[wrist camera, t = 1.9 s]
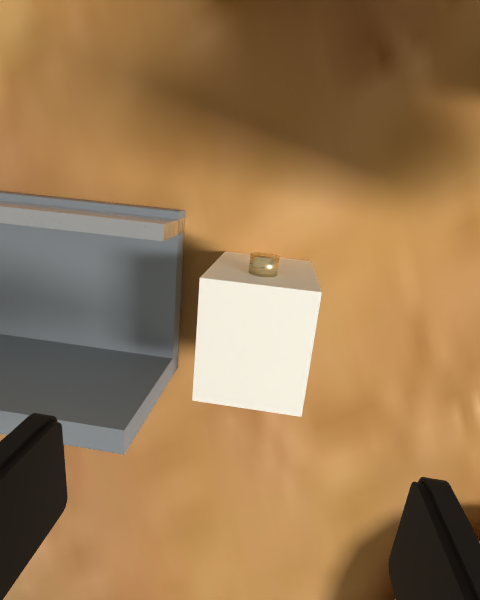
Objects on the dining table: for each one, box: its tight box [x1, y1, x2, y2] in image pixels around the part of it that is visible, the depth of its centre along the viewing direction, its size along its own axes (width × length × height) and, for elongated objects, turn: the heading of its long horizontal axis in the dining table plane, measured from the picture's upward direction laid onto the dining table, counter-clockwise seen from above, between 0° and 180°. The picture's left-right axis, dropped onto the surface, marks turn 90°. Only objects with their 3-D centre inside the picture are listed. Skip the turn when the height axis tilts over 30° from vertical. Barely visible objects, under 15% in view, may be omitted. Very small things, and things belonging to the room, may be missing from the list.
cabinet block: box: [192, 251, 322, 417], centre depth 23 cm, size 8×6×8 cm
